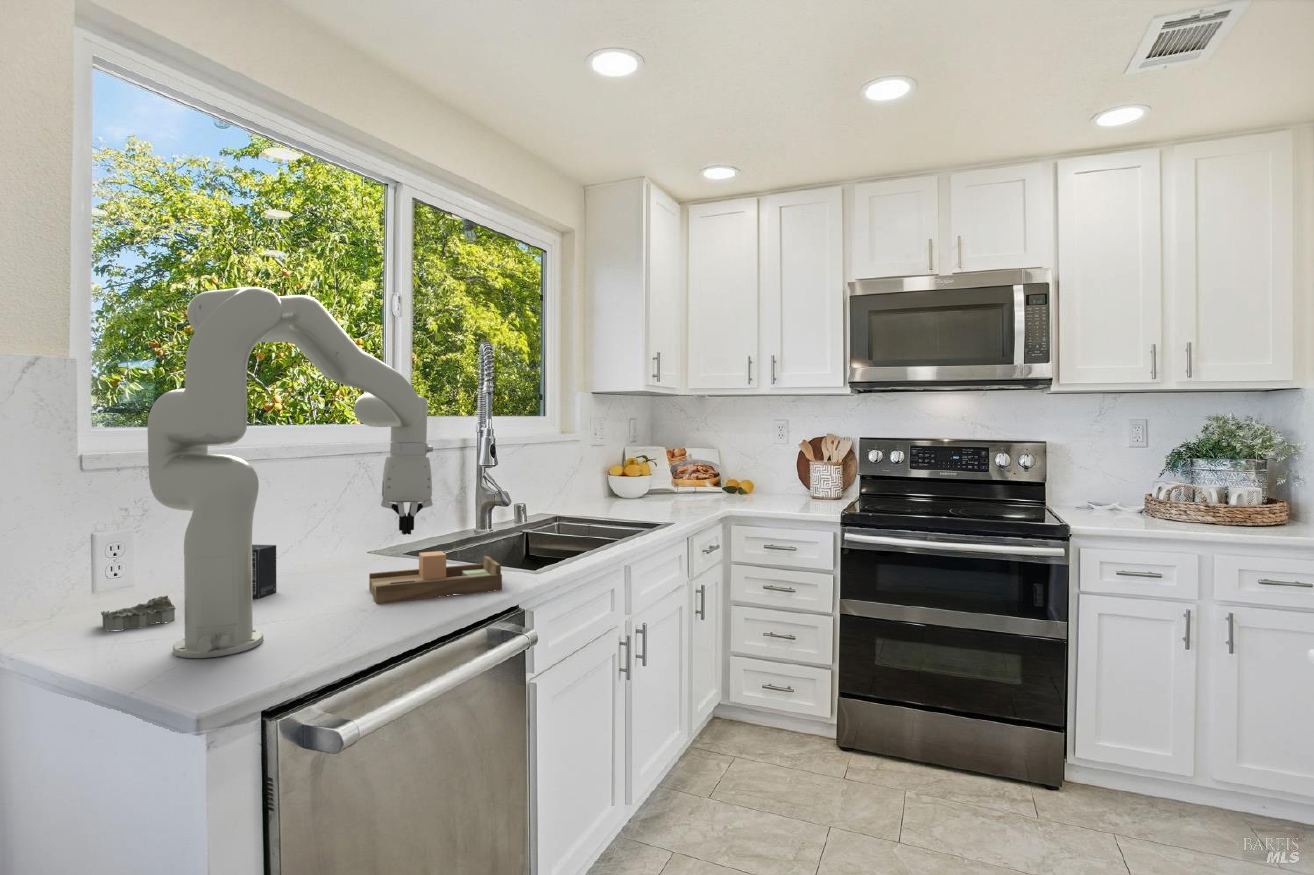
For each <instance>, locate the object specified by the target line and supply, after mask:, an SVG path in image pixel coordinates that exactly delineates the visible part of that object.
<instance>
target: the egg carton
mask: <svg viewBox="0 0 1314 875" xmlns="http://www.w3.org/2000/svg"><path fill="white" fill-rule="evenodd" d="M176 609H177V608H176V606H175V605H174V604H172V602H171V599H170V598H169V596H168V595H165V596H164V595H163V596H159V597H154V598H151V599H148V601H147V603H138V604H137V605H134V606H132V607H124V608H121V609H117V610H115V611H109V610H107V611H105V610H102V611H100V615H101V616H102V626H103V627H104V629H105V630H106V631H105V632H108V631H107V630H122V629H124V630H126V629H125V628H127V629H129V628H128V627H132V628H138V627H142V628H146V627H147V625H148V624H151V623H156V622H160V623H165V622H169V621H170V622H173V621H172V620H174V621H175V620H176V616H175V614H176V612H175V610H176ZM170 622H169V623H170ZM151 625H152V624H151ZM145 626H146V627H145ZM148 626H149V625H148ZM103 627H102V628H103Z"/></svg>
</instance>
